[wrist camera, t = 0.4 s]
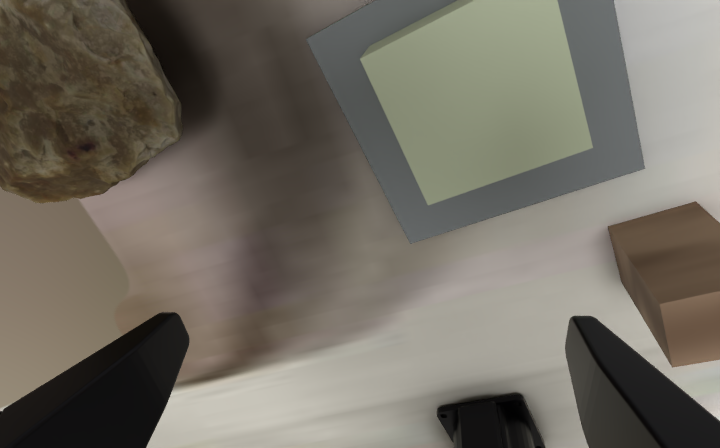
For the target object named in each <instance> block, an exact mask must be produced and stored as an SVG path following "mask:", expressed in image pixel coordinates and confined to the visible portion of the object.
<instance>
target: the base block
mask: <svg viewBox="0 0 720 448" xmlns="http://www.w3.org/2000/svg"><path fill="white" fill-rule="evenodd" d="M360 60H361V62H362V65H363V67H364V69H365V71H366V73H367V75H368V78H369V80H370V82H371V84H372V86H373V88H374V90H375V93H376V95H377V97H378V99H379V101H380V103H381V105H382V108H383V110H384V112H385V114H386V116H387V118H388V121H389V123H390V125H391V127H392V129H393V131H394V133H395V136H396V138H397V140H398V142H399V144H400V146H401V149H402V151H403V153H404V155H405V157H406V159H407V161H408V164H409V166H410V168H411V170H412V172H413V174H414V177H415V179H416V181H417V183H418V185H419V187H420V189H421V192H422V194H423V196H424V198H425V200H426V202H427V204H428V205H431V204H434V203H437V202H440V201H442V200H445V199H448V198H451V197H454V196H457V195H460V194H462V193H465V192H468V191H471V190H474V189H477V188H480V187H483V186H485V185H488V184H491V183H494V182H497V181H500V180H503V179H505V178H508V177H511V176H514V175H517V174H520V173H523V172H525V171H528V170H531V169H534V168H537V167H540V166H543V165H546V164H548V163H551V162H554V161H557V160H560V159H563V158H566V157H568V156H571V155H574V154H577V153H580V152H583V151H586V150H588V149H591V148H593V145H592V141H591V137H590V133H589V129H588V125H587V120H586V116H585V112H584V108H583V104H582V100H581V96H580V91H579V87H578V83H577V79H576V75H575V71H574V67H573V63H572V58H571V54H570V50H569V46H568V42H567V38H566V34H565V30H564V25H563V21H562V17H561V13H560V9H559V5H558V1H557V0H457V1H455V2H453V3H451V4H450V5H448V6H446V7H444V8H442V9H440V10H438V11H436V12H434V13H432V14H430V15H428V16H426V17H424V18H422V19H421V20H419V21H417V22H415V23H413V24H411V25H409V26H407V27H405V28H403V29H401V30H399V31H397V32H395V33H393V34H392V35H390V36H388V37H386V38H384V39H382V40H380V41H378V42H376V43H374V44H372V45H370V46H369V47H368V49H367V50H366V51H365V53H364V54H363V55H362V57H361V58H360Z"/></svg>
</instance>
